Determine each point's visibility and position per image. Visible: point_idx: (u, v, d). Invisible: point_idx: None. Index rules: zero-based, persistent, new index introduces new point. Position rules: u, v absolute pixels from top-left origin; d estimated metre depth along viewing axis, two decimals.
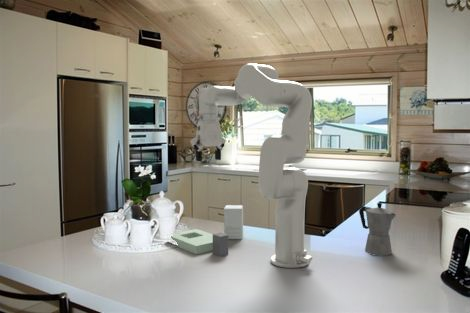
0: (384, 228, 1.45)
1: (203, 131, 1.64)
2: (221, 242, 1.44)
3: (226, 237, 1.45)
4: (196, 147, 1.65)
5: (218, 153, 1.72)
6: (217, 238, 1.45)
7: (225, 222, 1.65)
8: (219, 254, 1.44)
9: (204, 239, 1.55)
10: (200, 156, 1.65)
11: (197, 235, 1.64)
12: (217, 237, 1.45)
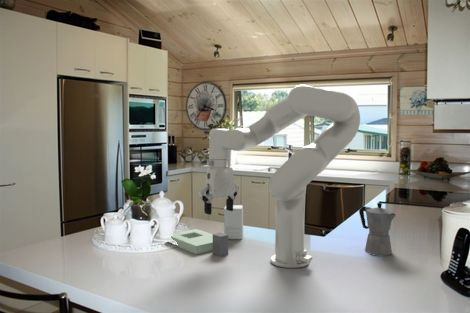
0: (384, 228, 1.45)
1: (214, 180, 1.40)
2: (221, 242, 1.44)
3: (226, 237, 1.45)
4: (205, 198, 1.41)
5: (230, 203, 1.48)
6: (217, 238, 1.45)
7: (225, 222, 1.65)
8: (219, 254, 1.44)
9: (204, 239, 1.55)
10: (209, 209, 1.41)
11: (197, 235, 1.64)
12: (217, 237, 1.45)
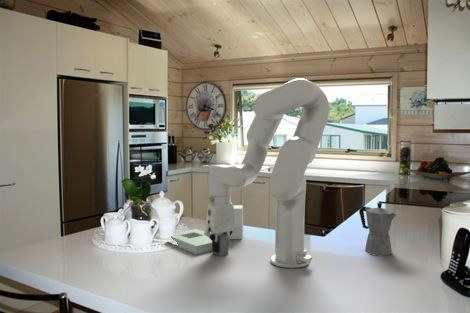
0: (384, 228, 1.45)
1: (214, 217, 1.41)
2: (221, 242, 1.44)
3: (226, 237, 1.45)
4: (213, 237, 1.43)
5: None
6: None
7: None
8: (219, 254, 1.44)
9: (204, 239, 1.55)
10: (217, 247, 1.44)
11: (197, 235, 1.64)
12: None
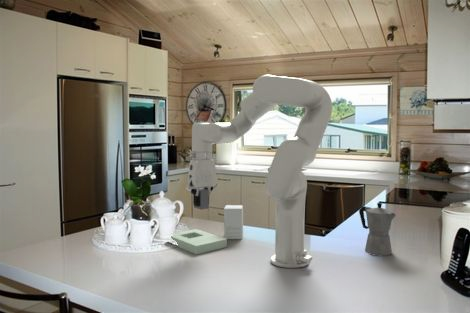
0: (384, 228, 1.45)
1: (196, 171, 1.48)
2: (202, 196, 1.51)
3: (207, 192, 1.53)
4: (194, 191, 1.50)
5: None
6: None
7: (225, 222, 1.65)
8: (200, 207, 1.52)
9: (204, 239, 1.55)
10: (198, 201, 1.51)
11: (197, 235, 1.64)
12: None
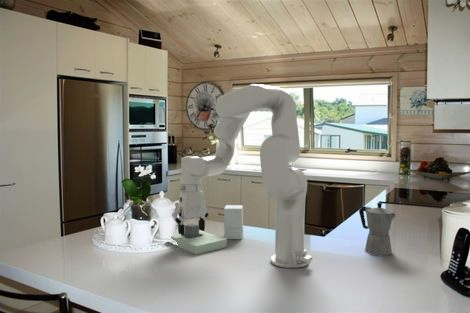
0: (384, 228, 1.45)
1: (185, 203, 1.55)
2: (192, 232, 1.58)
3: (197, 227, 1.59)
4: (178, 220, 1.55)
5: (202, 224, 1.62)
6: (189, 228, 1.58)
7: (225, 222, 1.65)
8: None
9: (204, 239, 1.55)
10: (182, 230, 1.56)
11: None
12: (189, 227, 1.59)
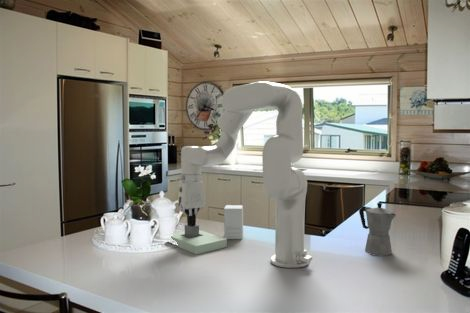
0: (384, 228, 1.45)
1: (185, 193, 1.54)
2: (192, 232, 1.58)
3: (197, 227, 1.59)
4: (187, 212, 1.58)
5: None
6: (189, 228, 1.58)
7: (225, 222, 1.65)
8: None
9: (204, 239, 1.55)
10: (192, 221, 1.58)
11: None
12: (189, 227, 1.59)
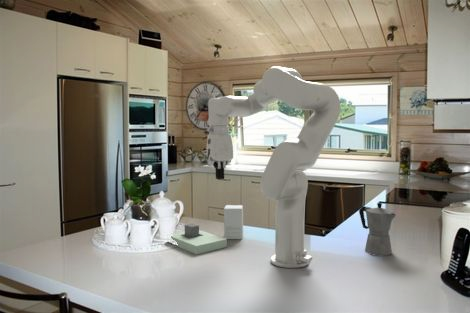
0: (384, 228, 1.45)
1: (214, 144, 1.53)
2: (192, 232, 1.58)
3: (197, 227, 1.59)
4: (216, 164, 1.56)
5: None
6: (189, 228, 1.58)
7: (225, 222, 1.65)
8: None
9: (204, 239, 1.55)
10: (220, 174, 1.56)
11: None
12: (189, 227, 1.58)
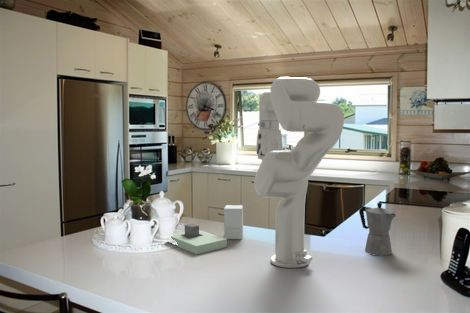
0: (384, 228, 1.45)
1: (265, 139, 1.52)
2: (192, 232, 1.58)
3: (197, 227, 1.59)
4: None
5: None
6: (189, 228, 1.58)
7: (225, 222, 1.65)
8: None
9: (204, 239, 1.55)
10: None
11: None
12: (189, 227, 1.59)
